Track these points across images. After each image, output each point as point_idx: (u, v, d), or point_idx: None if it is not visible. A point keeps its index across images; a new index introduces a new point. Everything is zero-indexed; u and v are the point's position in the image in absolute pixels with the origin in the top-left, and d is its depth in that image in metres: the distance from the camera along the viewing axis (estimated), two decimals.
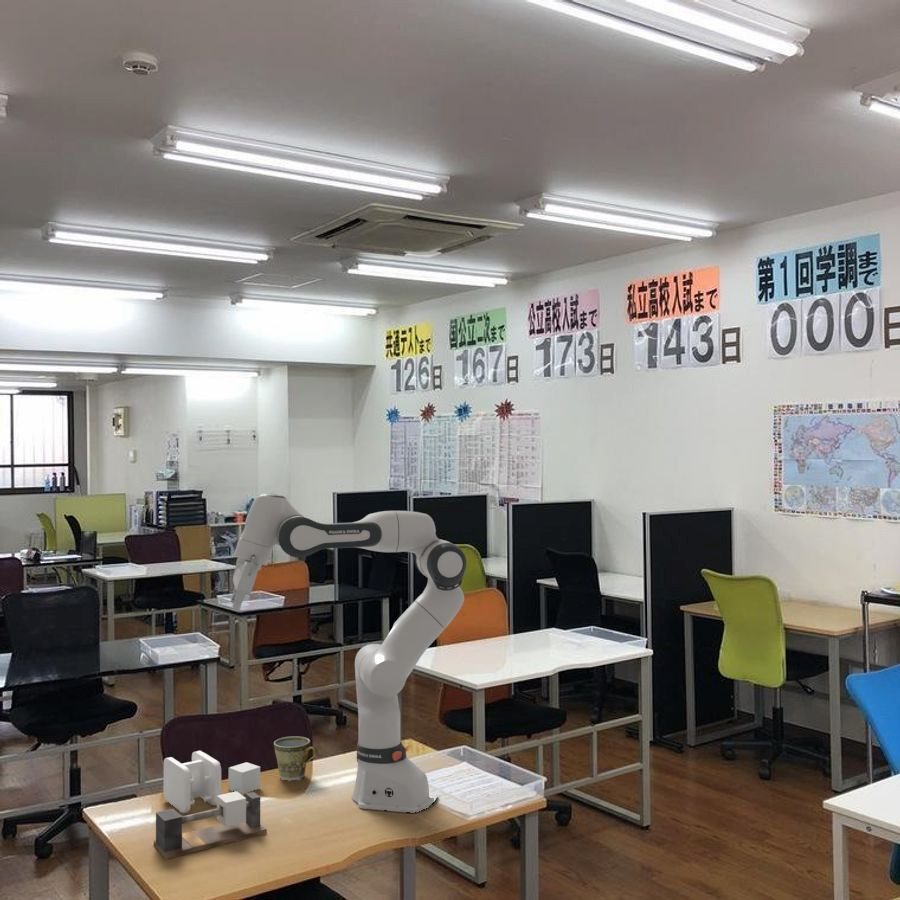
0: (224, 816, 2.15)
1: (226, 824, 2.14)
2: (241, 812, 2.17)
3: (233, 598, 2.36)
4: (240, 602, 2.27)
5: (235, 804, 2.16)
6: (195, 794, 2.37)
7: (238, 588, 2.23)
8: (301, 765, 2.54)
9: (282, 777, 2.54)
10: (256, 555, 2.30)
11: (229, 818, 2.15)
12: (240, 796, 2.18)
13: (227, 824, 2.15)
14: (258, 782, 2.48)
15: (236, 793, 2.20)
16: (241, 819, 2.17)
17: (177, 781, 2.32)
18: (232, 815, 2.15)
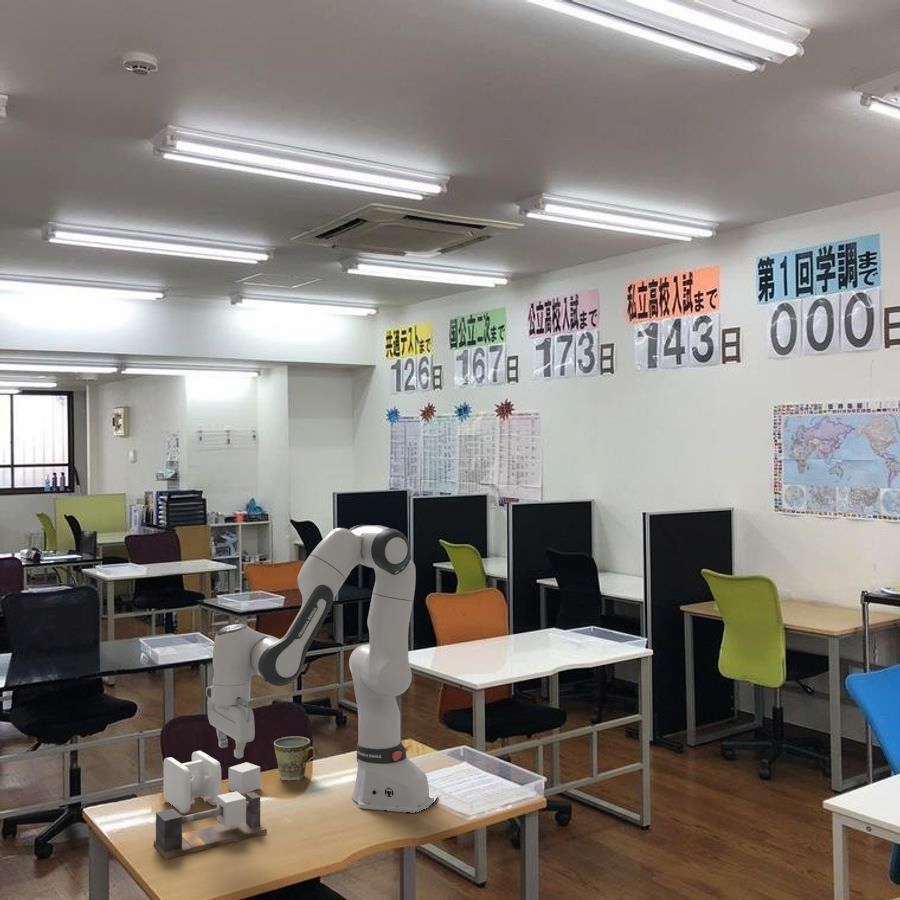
0: (224, 816, 2.15)
1: (226, 824, 2.14)
2: (241, 812, 2.17)
3: (222, 743, 2.21)
4: (242, 749, 2.14)
5: (235, 804, 2.16)
6: (195, 794, 2.37)
7: (241, 739, 2.09)
8: (301, 765, 2.54)
9: (282, 777, 2.54)
10: (241, 696, 2.15)
11: (229, 818, 2.15)
12: (240, 796, 2.18)
13: (227, 824, 2.15)
14: (258, 782, 2.48)
15: (236, 793, 2.20)
16: (241, 819, 2.17)
17: (176, 781, 2.32)
18: (232, 815, 2.15)
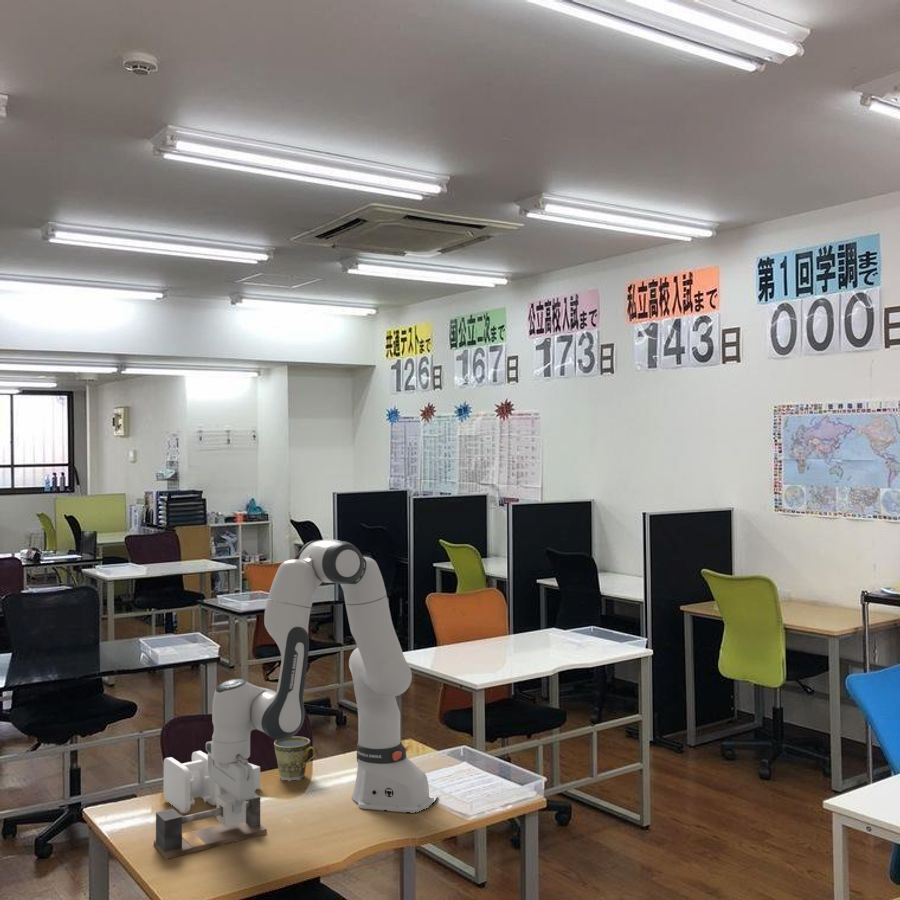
0: (224, 816, 2.15)
1: (226, 824, 2.14)
2: (241, 812, 2.17)
3: None
4: (240, 805, 2.15)
5: None
6: (195, 794, 2.37)
7: (242, 798, 2.09)
8: (301, 765, 2.54)
9: (282, 777, 2.54)
10: (241, 753, 2.15)
11: (229, 818, 2.15)
12: None
13: (227, 824, 2.15)
14: (258, 782, 2.48)
15: None
16: (241, 820, 2.17)
17: (177, 781, 2.32)
18: (232, 815, 2.15)
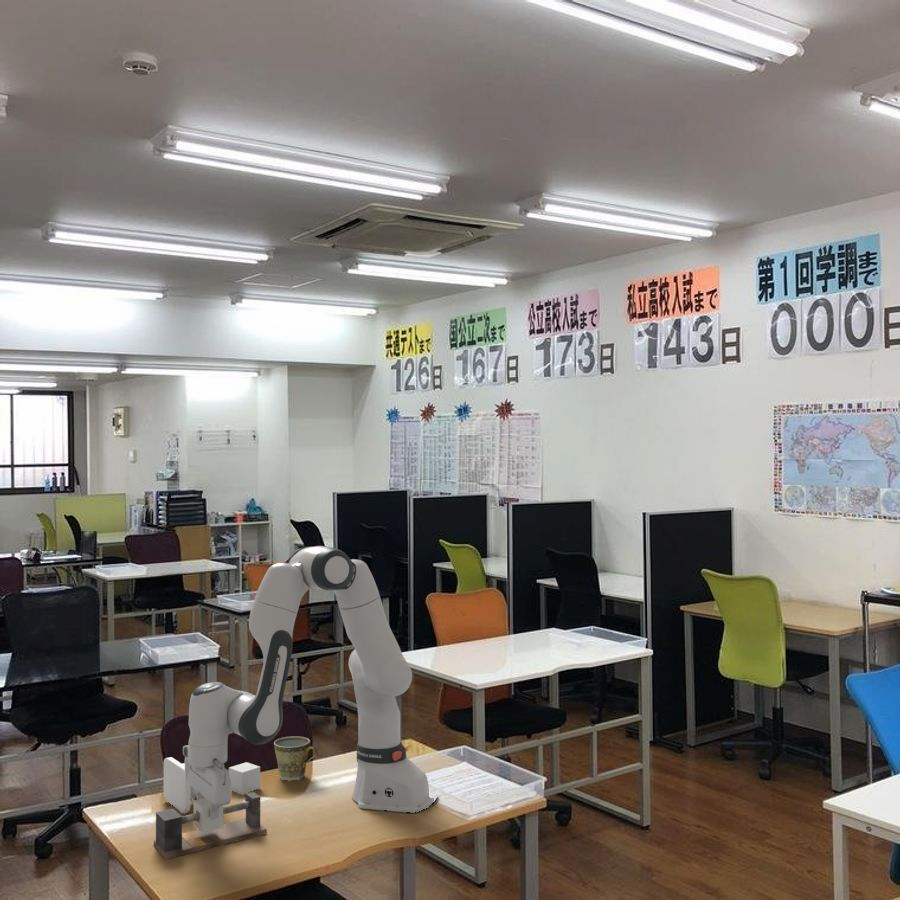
0: (200, 822, 2.12)
1: (202, 830, 2.11)
2: (218, 818, 2.13)
3: None
4: (217, 810, 2.11)
5: None
6: (195, 794, 2.37)
7: (218, 803, 2.06)
8: (301, 765, 2.54)
9: (282, 777, 2.54)
10: (217, 757, 2.12)
11: (206, 824, 2.12)
12: None
13: (203, 830, 2.11)
14: (258, 782, 2.48)
15: None
16: (218, 825, 2.13)
17: (176, 781, 2.32)
18: (209, 821, 2.12)
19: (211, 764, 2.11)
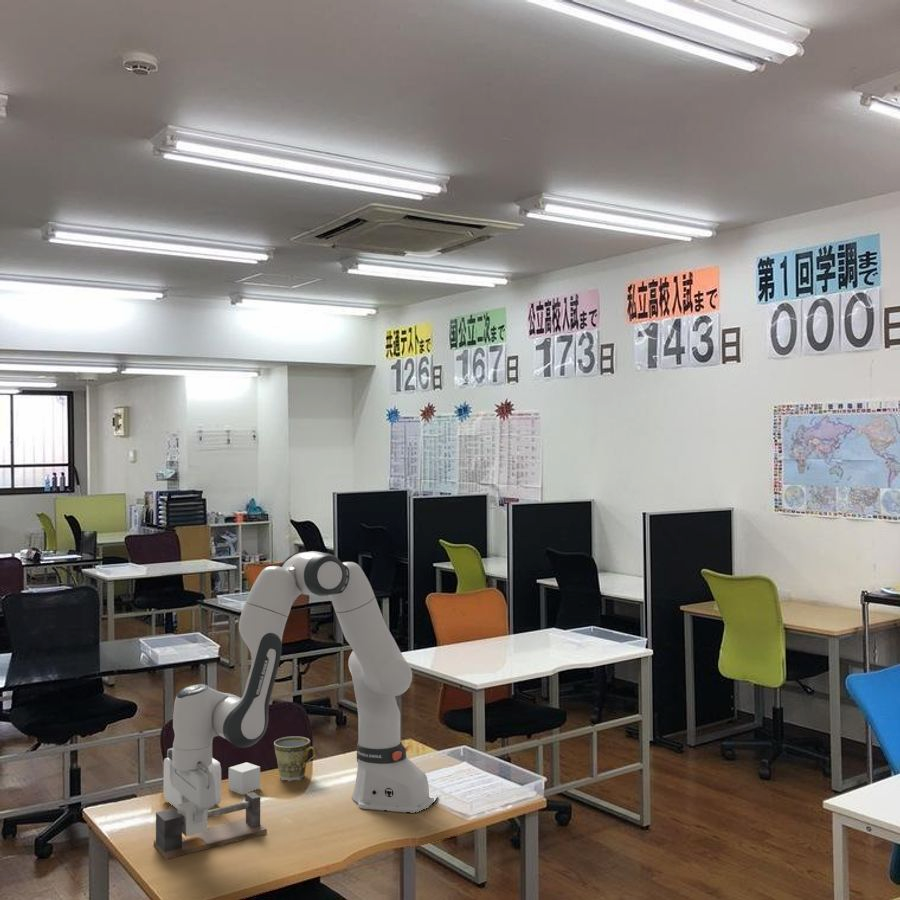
0: (185, 825, 2.09)
1: (186, 834, 2.09)
2: (202, 821, 2.11)
3: None
4: (201, 813, 2.09)
5: None
6: None
7: (202, 807, 2.04)
8: (301, 765, 2.54)
9: (282, 777, 2.54)
10: (202, 760, 2.10)
11: (190, 827, 2.09)
12: None
13: (188, 834, 2.09)
14: (258, 782, 2.48)
15: None
16: (202, 829, 2.11)
17: None
18: (193, 824, 2.10)
19: (195, 767, 2.09)
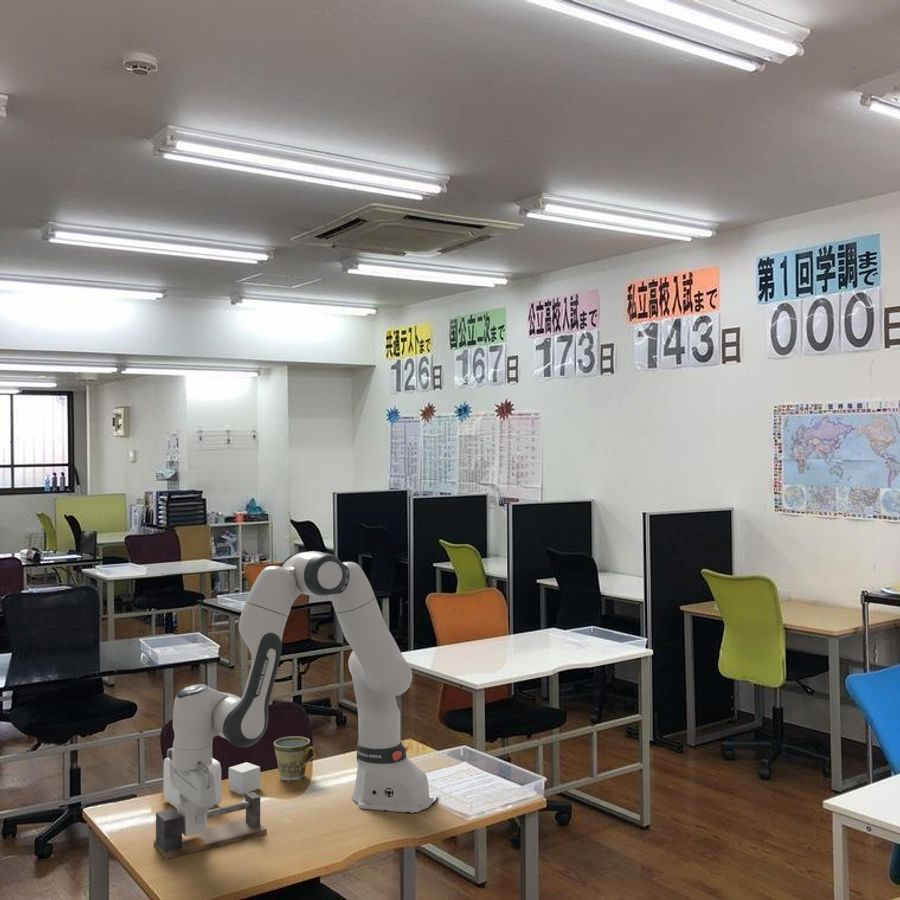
0: (184, 826, 2.09)
1: (186, 834, 2.09)
2: None
3: None
4: (203, 815, 2.08)
5: (195, 813, 2.10)
6: None
7: (202, 806, 2.04)
8: (301, 765, 2.54)
9: (282, 777, 2.54)
10: (202, 760, 2.10)
11: (189, 828, 2.09)
12: None
13: (187, 834, 2.09)
14: (258, 782, 2.48)
15: None
16: (202, 829, 2.11)
17: None
18: (192, 825, 2.10)
19: (195, 767, 2.09)
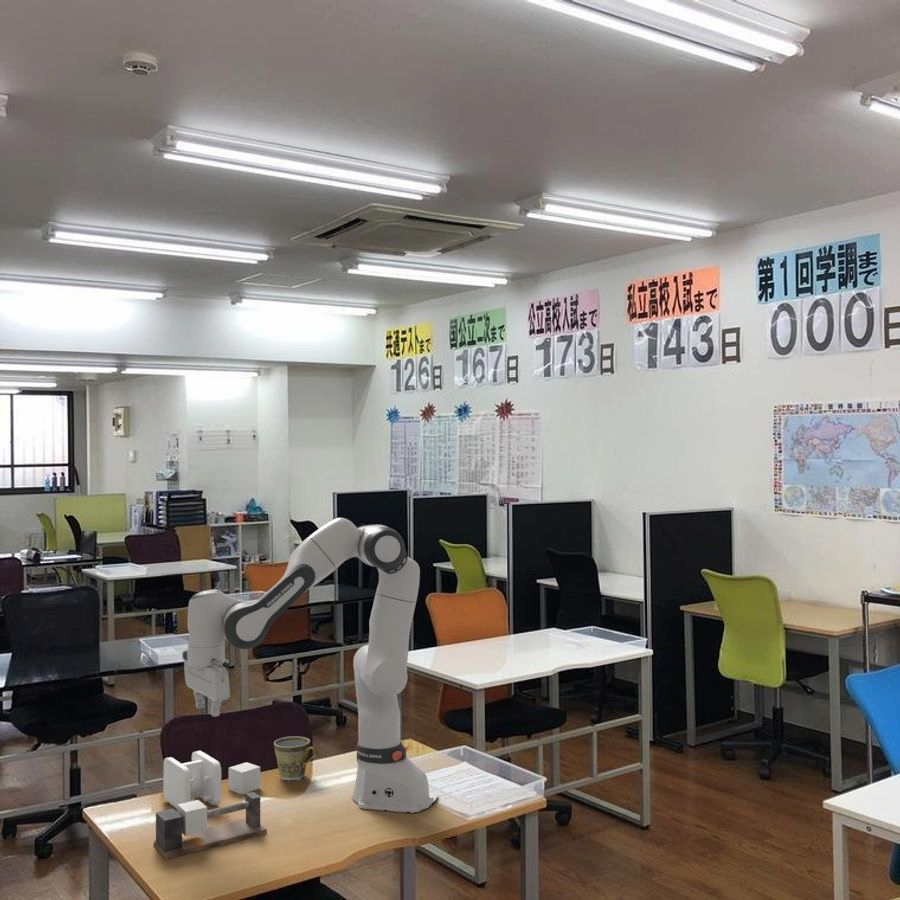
0: (184, 826, 2.09)
1: (186, 834, 2.09)
2: (202, 822, 2.11)
3: (199, 703, 2.31)
4: (218, 708, 2.24)
5: (195, 813, 2.10)
6: (195, 794, 2.37)
7: (217, 698, 2.19)
8: (301, 765, 2.54)
9: (282, 777, 2.54)
10: (215, 657, 2.25)
11: (189, 828, 2.09)
12: (201, 805, 2.13)
13: (187, 834, 2.09)
14: (258, 782, 2.48)
15: (197, 802, 2.15)
16: (202, 829, 2.11)
17: (176, 781, 2.32)
18: (192, 825, 2.10)
19: (210, 664, 2.24)
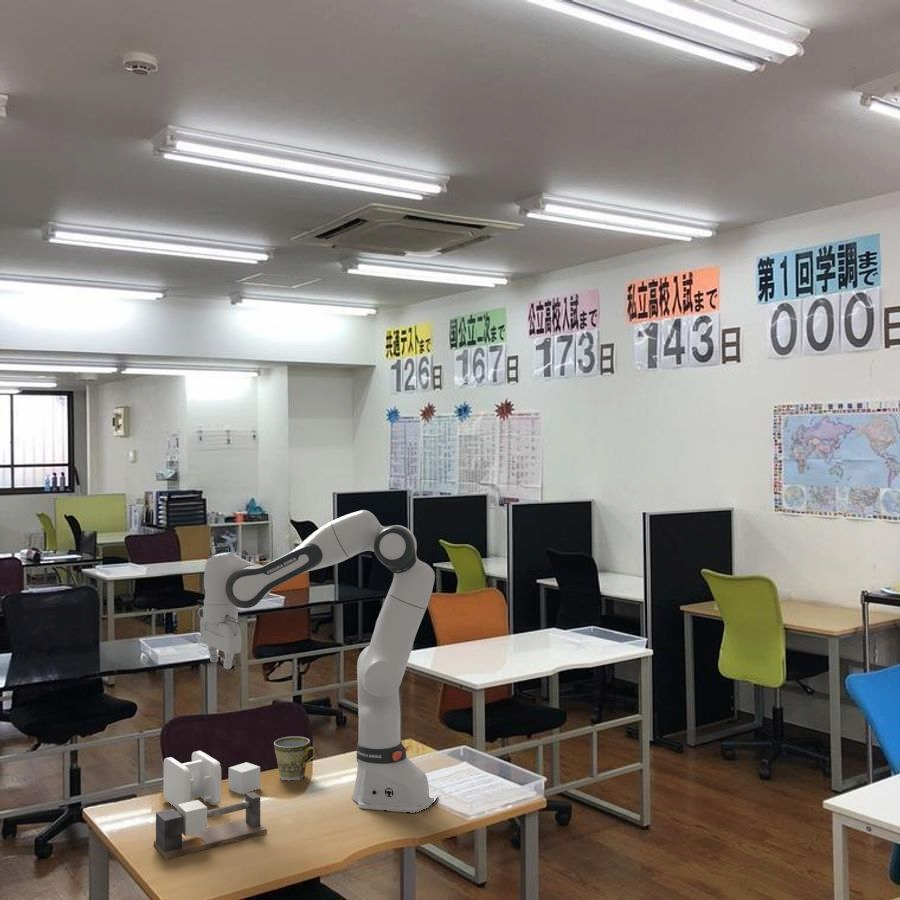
0: (184, 826, 2.09)
1: (186, 834, 2.09)
2: (202, 822, 2.11)
3: (213, 658, 2.48)
4: (230, 661, 2.41)
5: (195, 813, 2.10)
6: (195, 794, 2.37)
7: (230, 650, 2.36)
8: (301, 765, 2.54)
9: (282, 777, 2.54)
10: (229, 614, 2.42)
11: (189, 828, 2.09)
12: (201, 805, 2.13)
13: (187, 834, 2.09)
14: (258, 782, 2.48)
15: (197, 802, 2.15)
16: (202, 829, 2.11)
17: (176, 781, 2.32)
18: (192, 825, 2.10)
19: (224, 620, 2.41)
